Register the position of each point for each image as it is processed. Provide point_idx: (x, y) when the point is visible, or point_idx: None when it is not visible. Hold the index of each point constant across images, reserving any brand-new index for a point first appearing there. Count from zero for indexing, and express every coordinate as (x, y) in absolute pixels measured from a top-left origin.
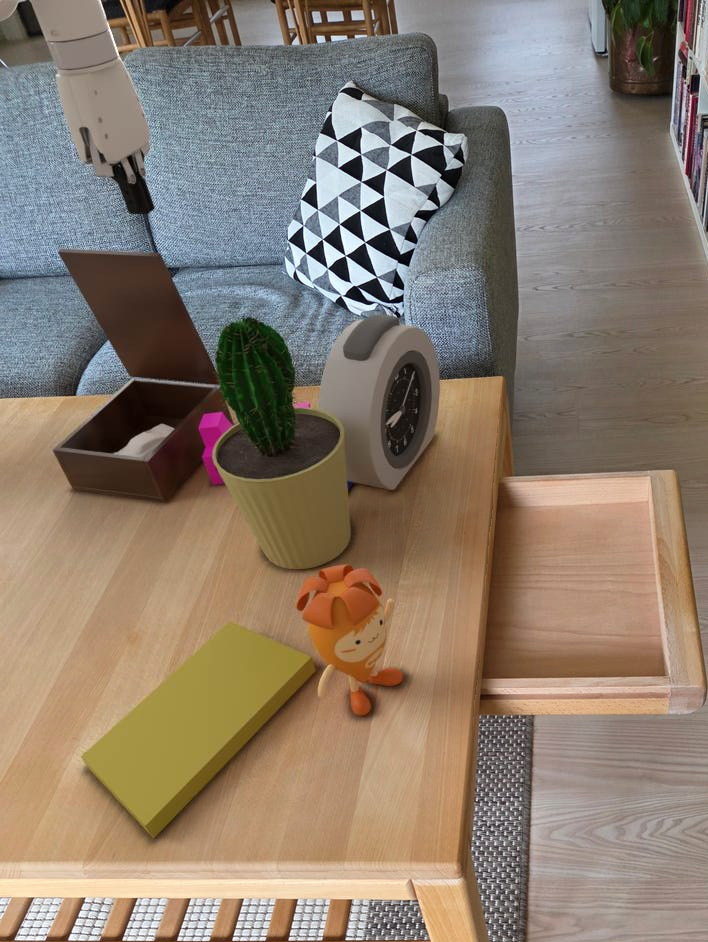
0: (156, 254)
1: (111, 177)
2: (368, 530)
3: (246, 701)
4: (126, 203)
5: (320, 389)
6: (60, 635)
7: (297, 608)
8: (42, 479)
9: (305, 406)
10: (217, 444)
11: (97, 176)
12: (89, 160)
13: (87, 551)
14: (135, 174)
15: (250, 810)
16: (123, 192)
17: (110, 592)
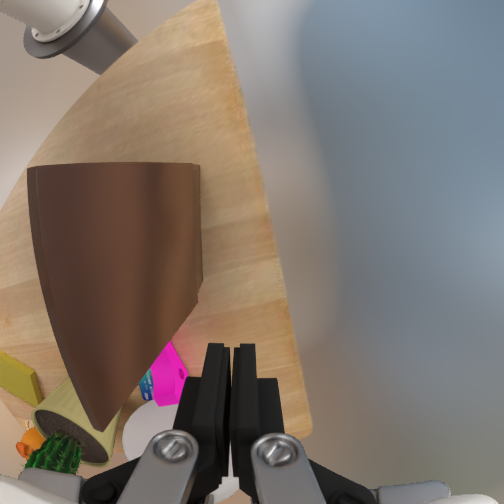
0: (96, 428)
1: (116, 471)
2: (122, 414)
3: (14, 391)
4: (205, 365)
5: (127, 459)
6: None
7: (17, 442)
8: (80, 130)
9: (172, 402)
10: (44, 409)
11: (27, 470)
12: (23, 492)
13: (28, 247)
14: (242, 489)
15: (3, 392)
16: (177, 417)
17: (16, 289)
